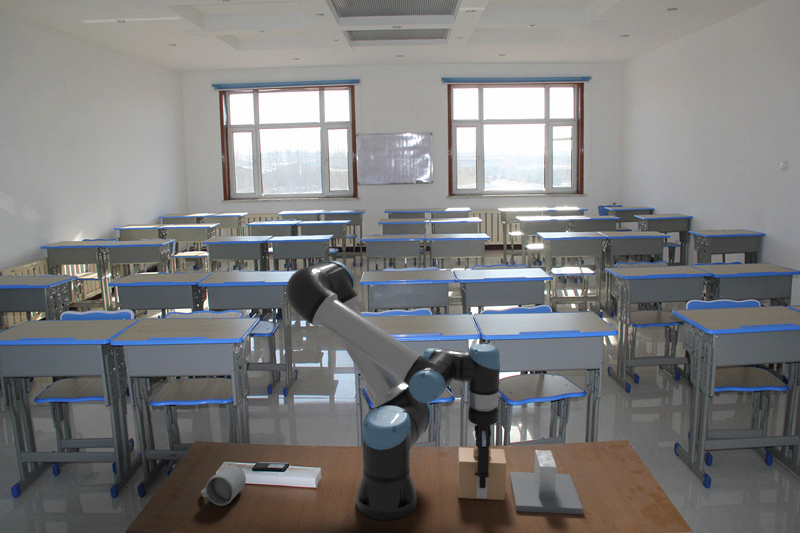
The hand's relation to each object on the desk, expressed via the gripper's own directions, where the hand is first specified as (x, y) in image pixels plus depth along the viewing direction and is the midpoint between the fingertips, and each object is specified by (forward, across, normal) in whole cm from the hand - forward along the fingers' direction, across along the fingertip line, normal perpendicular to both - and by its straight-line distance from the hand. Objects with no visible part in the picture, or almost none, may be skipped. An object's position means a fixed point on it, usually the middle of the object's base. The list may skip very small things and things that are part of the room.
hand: (480, 488), depth 150 cm
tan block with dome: (+1, 0, 0) cm, 1 cm away
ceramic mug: (+1, -8, +66) cm, 67 cm away
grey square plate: (+1, 0, -16) cm, 16 cm away
